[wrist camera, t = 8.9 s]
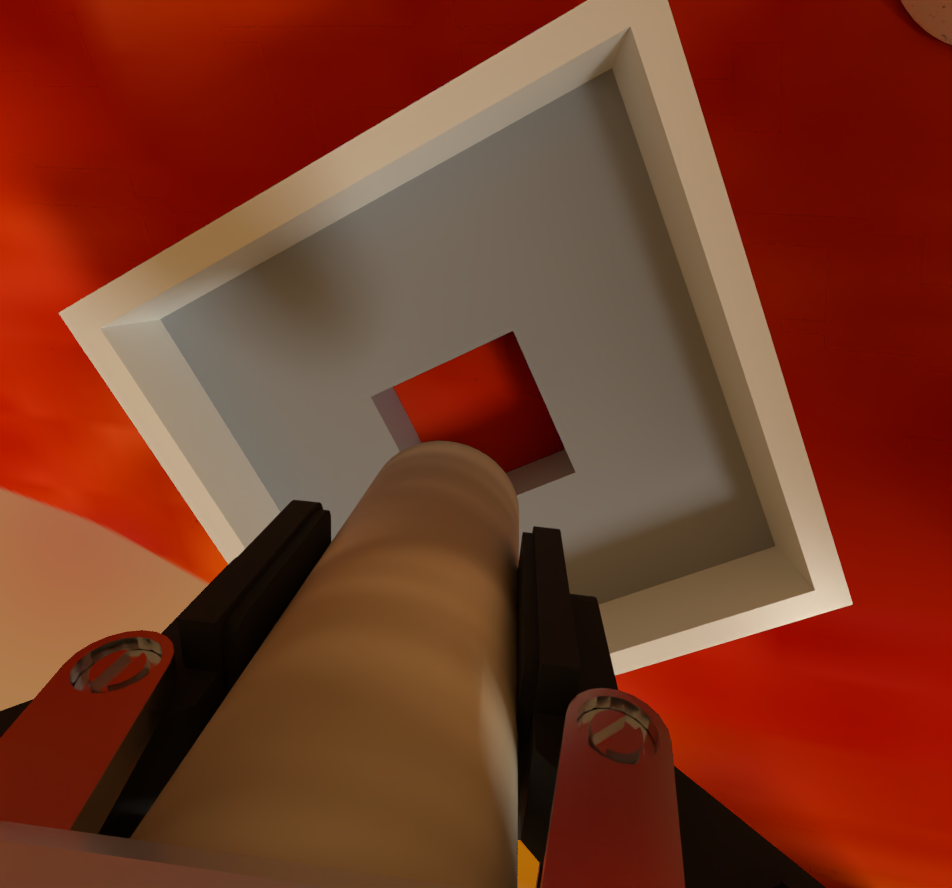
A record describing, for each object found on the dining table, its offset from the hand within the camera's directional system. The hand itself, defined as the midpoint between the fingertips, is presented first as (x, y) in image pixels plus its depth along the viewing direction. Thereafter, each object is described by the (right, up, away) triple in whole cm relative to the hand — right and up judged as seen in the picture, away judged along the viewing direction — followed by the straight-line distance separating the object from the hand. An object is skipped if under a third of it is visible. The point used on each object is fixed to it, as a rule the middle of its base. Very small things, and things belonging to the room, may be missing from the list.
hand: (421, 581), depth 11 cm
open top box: (+1, +4, +12) cm, 13 cm away
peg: (0, +1, +3) cm, 3 cm away
